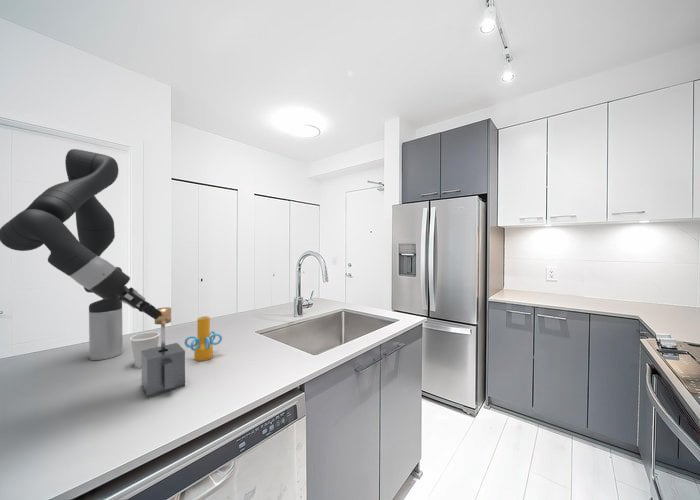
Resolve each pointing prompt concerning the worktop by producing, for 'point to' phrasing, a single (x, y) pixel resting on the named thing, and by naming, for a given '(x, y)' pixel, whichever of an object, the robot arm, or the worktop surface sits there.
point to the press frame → (163, 369)
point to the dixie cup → (143, 344)
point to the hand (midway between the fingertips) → (155, 313)
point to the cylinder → (203, 340)
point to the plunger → (163, 323)
